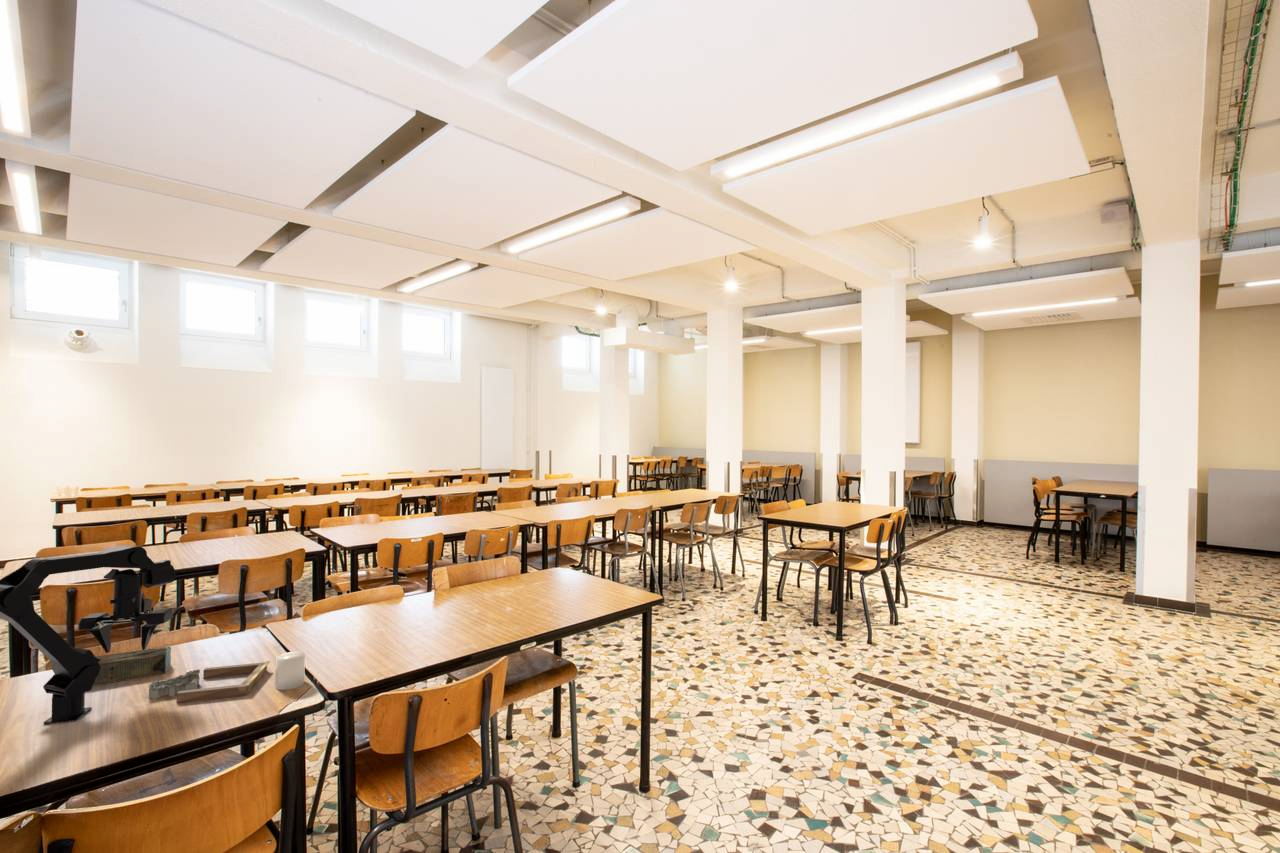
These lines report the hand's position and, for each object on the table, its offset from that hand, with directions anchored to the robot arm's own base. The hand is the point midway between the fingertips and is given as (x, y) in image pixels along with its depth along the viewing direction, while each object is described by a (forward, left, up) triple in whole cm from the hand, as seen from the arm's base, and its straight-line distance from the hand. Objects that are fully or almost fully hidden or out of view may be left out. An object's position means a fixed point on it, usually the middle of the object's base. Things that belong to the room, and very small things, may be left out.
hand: (126, 650), depth 154 cm
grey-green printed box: (+15, +7, -13) cm, 21 cm away
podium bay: (0, -23, -12) cm, 26 cm away
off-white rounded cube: (-4, -40, -12) cm, 42 cm away
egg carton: (0, -11, -12) cm, 17 cm away
